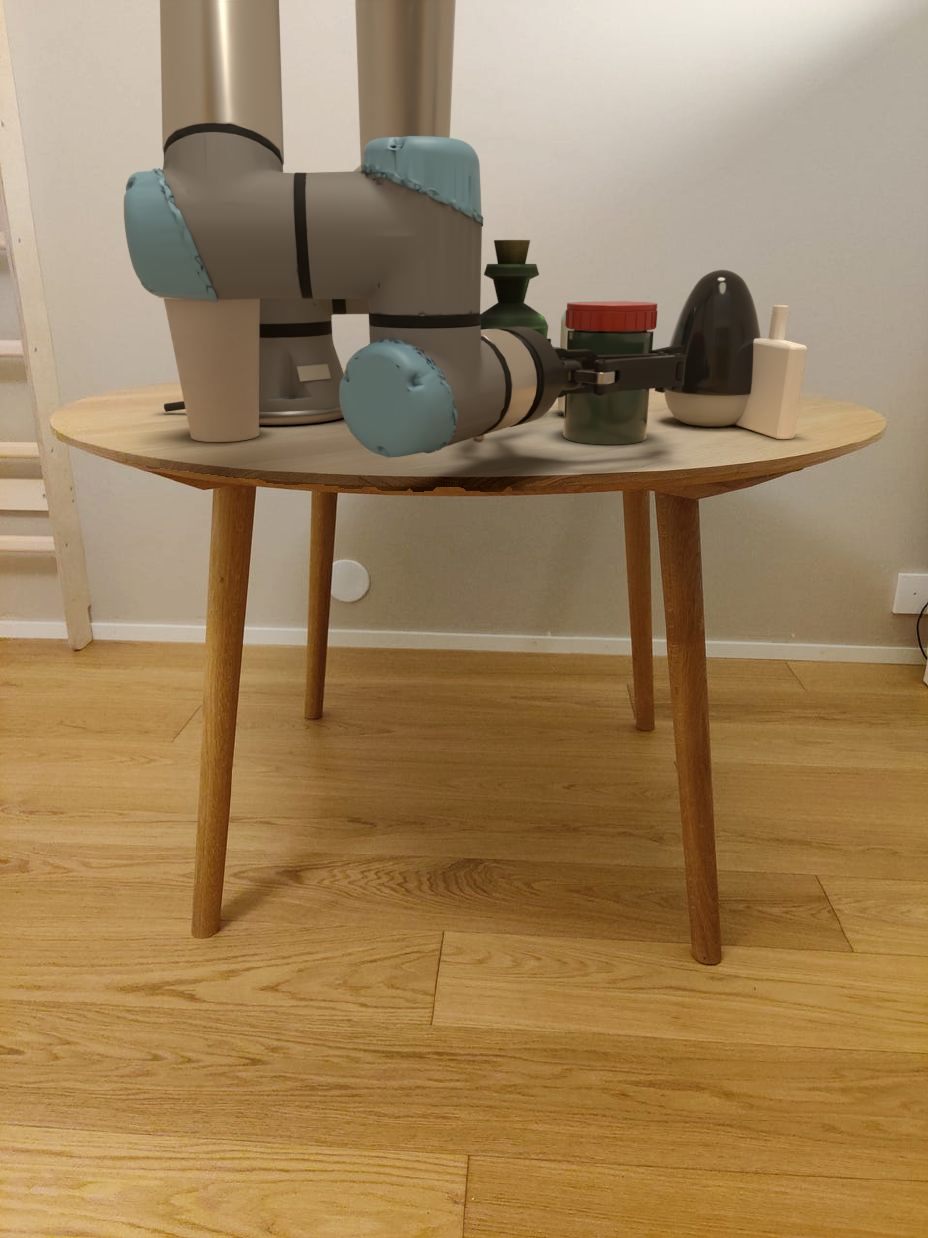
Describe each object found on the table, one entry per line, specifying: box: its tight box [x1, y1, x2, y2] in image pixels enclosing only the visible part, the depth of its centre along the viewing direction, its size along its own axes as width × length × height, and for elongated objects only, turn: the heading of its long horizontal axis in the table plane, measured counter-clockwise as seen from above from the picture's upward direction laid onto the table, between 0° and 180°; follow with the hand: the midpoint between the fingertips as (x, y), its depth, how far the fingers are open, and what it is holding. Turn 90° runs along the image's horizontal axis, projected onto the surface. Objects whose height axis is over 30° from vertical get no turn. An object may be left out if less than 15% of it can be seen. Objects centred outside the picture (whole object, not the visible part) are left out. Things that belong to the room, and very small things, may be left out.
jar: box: [562, 329, 655, 446], centre depth 88 cm, size 8×8×12 cm
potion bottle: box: [480, 239, 549, 339], centre depth 99 cm, size 8×8×18 cm
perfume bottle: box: [735, 304, 808, 440], centre depth 90 cm, size 8×2×12 cm, turn 16°
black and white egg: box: [664, 269, 762, 428], centre depth 95 cm, size 10×10×15 cm
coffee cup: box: [158, 297, 260, 443], centre depth 87 cm, size 10×10×15 cm
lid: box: [565, 300, 658, 331], centre depth 86 cm, size 8×8×2 cm
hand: (610, 356), depth 88 cm, fingers open, 13 cm apart
